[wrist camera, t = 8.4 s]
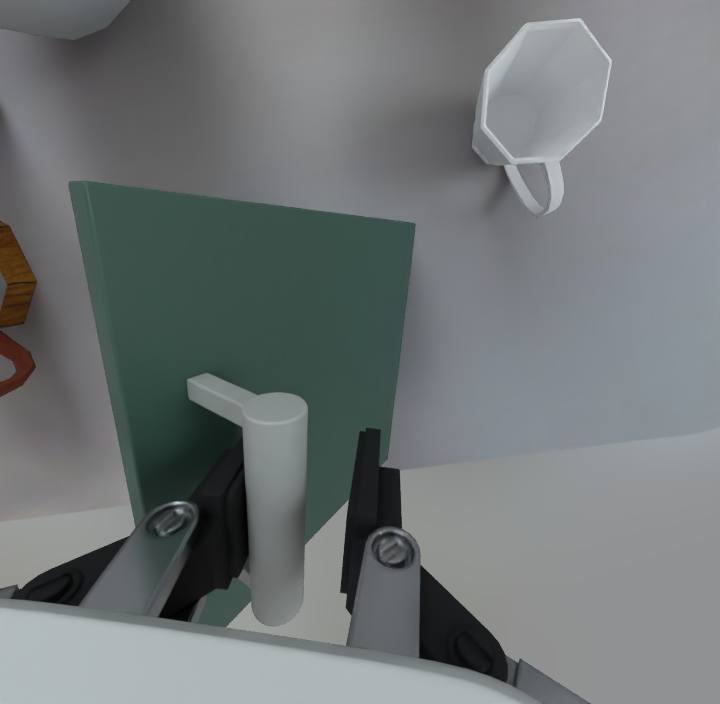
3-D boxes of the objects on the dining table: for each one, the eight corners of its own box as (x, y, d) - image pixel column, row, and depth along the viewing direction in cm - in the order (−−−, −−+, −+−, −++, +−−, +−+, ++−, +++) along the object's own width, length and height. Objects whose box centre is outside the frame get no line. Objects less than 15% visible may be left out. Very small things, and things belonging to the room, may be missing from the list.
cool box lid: (162, 667, 13) (250, 777, 11) (65, 180, 7) (208, 179, 5) (378, 454, 26) (440, 482, 24) (404, 222, 20) (487, 227, 18)
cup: (534, 58, 25) (598, -19, 17) (568, 197, 27) (636, 185, 20) (440, 108, 26) (460, 58, 18) (481, 235, 29) (513, 237, 21)
